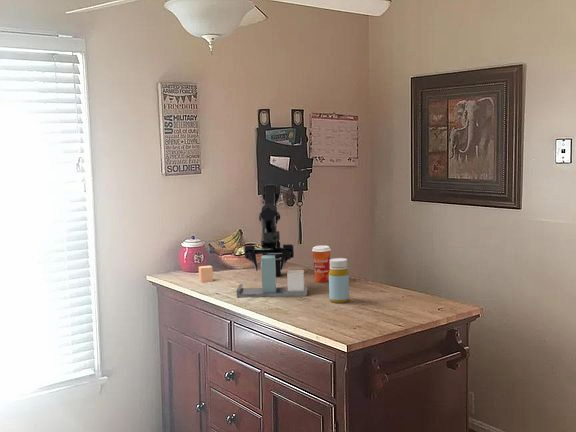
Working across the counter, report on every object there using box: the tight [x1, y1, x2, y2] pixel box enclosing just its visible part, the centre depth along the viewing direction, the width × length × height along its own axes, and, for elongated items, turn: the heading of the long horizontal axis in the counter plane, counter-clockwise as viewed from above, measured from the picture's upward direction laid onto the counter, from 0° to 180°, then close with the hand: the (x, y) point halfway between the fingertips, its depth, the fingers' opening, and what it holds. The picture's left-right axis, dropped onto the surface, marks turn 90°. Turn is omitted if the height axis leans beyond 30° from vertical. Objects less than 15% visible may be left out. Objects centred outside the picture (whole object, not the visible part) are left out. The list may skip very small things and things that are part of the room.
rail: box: [236, 269, 308, 298], centre depth 261 cm, size 26×10×8 cm, turn 87°
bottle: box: [328, 257, 350, 304], centre depth 246 cm, size 7×7×15 cm
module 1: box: [198, 265, 214, 284], centre depth 287 cm, size 5×4×6 cm
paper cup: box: [311, 245, 332, 283], centre depth 279 cm, size 8×8×14 cm
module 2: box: [260, 254, 277, 293], centre depth 260 cm, size 6×5×13 cm
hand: (269, 270), depth 259 cm, fingers open, 9 cm apart
